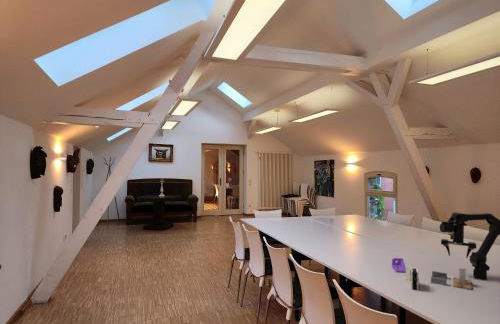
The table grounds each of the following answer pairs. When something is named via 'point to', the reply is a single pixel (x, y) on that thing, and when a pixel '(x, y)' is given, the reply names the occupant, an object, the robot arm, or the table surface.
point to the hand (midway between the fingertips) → (458, 257)
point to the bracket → (398, 265)
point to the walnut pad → (458, 285)
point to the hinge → (412, 276)
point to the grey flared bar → (462, 276)
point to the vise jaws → (439, 278)
